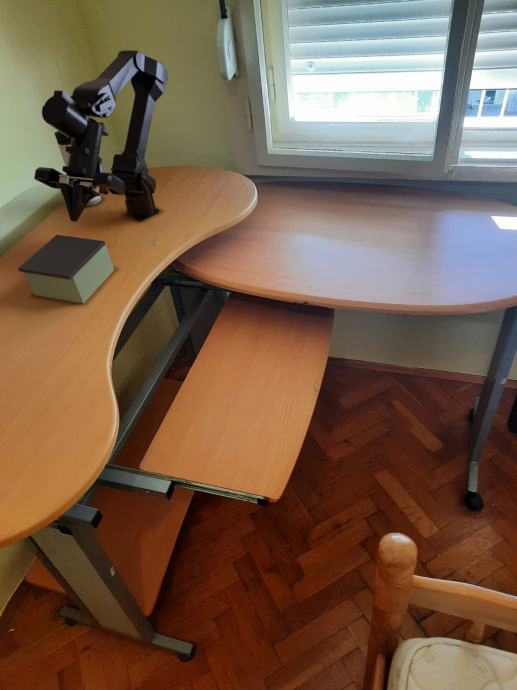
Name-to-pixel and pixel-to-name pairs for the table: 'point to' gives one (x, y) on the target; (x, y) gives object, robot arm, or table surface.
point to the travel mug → (62, 143)
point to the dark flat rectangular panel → (62, 257)
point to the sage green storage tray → (74, 280)
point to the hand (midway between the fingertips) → (73, 221)
